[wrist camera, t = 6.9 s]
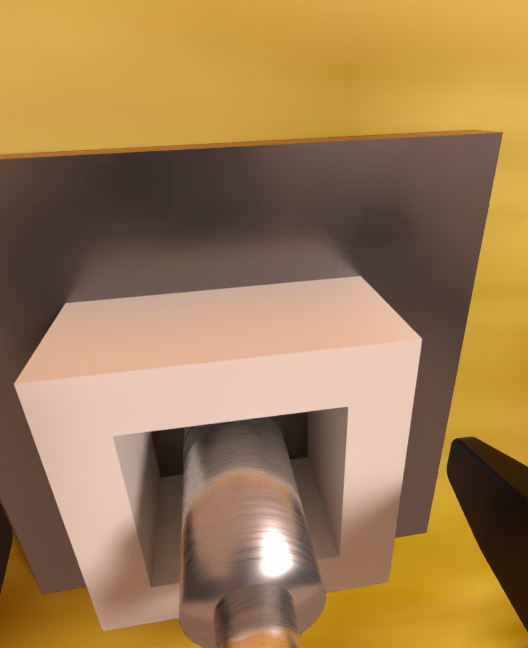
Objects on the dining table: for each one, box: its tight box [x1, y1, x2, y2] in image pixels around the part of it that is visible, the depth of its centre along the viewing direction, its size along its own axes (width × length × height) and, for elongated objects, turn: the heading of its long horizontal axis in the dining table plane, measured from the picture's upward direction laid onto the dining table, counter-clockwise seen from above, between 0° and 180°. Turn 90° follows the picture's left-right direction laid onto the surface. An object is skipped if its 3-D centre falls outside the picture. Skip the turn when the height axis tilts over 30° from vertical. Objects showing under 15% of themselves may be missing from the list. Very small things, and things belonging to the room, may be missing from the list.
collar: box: [14, 276, 422, 631], centre depth 10 cm, size 6×6×3 cm
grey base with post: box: [0, 130, 503, 648], centre depth 9 cm, size 12×12×8 cm
